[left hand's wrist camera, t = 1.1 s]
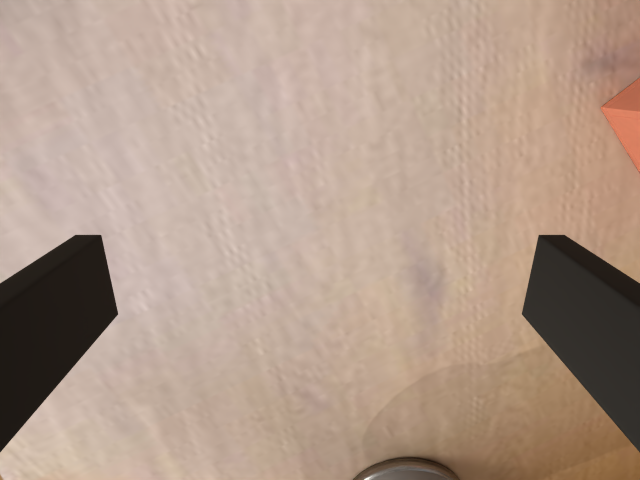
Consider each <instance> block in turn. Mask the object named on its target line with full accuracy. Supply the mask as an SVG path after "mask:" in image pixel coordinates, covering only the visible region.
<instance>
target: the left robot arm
mask: <svg viewBox="0 0 640 480" xmlns="http://www.w3.org/2000/svg"><path fill="white" fill-rule="evenodd" d="M117 315H118V311H117V307H116V302H115V297H114V293H113V288H112V283H111V279H110V274H109V269H108V265H107V260H106V255H105V251H104V246H103V241H102V237H101V235H75V236H73V237H72V238H70V239H69V240H67V241H66V242H64V243H62V244H61V245H59V246H58V247H56V248H55V249H53V250H52V251H50V252H48V253H47V254H45V255H44V256H42V257H41V258H39V259H38V260H36V261H34V262H33V263H31V264H30V265H28V266H27V267H25V268H24V269H22V270H20V271H19V272H17V273H16V274H14V275H13V276H11V277H10V278H8V279H7V280H5V281H3V282H2V283H0V452H1V451H2V450H3V448H4V447H5V446H6V445H7V444H8V443H9V441H10V440H11V439H12V438H13V437H14V436H15V434H16V433H17V432H18V431H19V430H20V428H21V427H22V426H23V425H24V424H25V423H26V421H27V420H28V419H29V418H30V417H31V416H32V414H33V413H34V412H35V411H36V410H37V409H38V407H39V406H40V405H41V404H42V403H43V402H44V400H45V399H46V398H47V397H48V396H49V395H50V393H51V392H52V391H53V390H54V389H55V388H56V386H57V385H58V384H59V383H60V382H61V380H62V379H63V378H64V377H65V376H66V375H67V373H68V372H69V371H70V370H71V369H72V368H73V366H74V365H75V364H76V363H77V362H78V361H79V359H80V358H81V357H82V356H83V355H84V354H85V352H86V351H87V350H88V349H89V348H90V347H91V345H92V344H93V343H94V342H95V341H96V339H97V338H98V337H99V336H100V335H101V334H102V332H103V331H104V330H105V329H106V328H107V327H108V325H109V324H110V323H111V322H112V321H113V320H114V318H115V317H116V316H117ZM522 315H523V316H524V317H525V318H526V320H527V321H528V322H529V323H530V324H531V325H532V327H533V328H534V329H535V330H536V331H537V332H538V334H539V335H540V336H541V337H542V338H543V339H544V341H545V342H546V343H547V344H548V345H549V347H550V348H551V349H552V350H553V351H554V352H555V354H556V355H557V356H558V357H559V358H560V359H561V361H562V362H563V363H564V364H565V365H566V366H567V368H568V369H569V370H570V371H571V372H572V373H573V375H574V376H575V377H576V378H577V379H578V380H579V382H580V383H581V384H582V385H583V386H584V388H585V389H586V390H587V391H588V392H589V393H590V395H591V396H592V397H593V398H594V399H595V400H596V402H597V403H598V404H599V405H600V406H601V407H602V409H603V410H604V411H605V412H606V413H607V414H608V416H609V417H610V418H611V419H612V420H613V421H614V423H615V424H616V425H617V426H618V427H619V428H620V430H621V431H622V432H623V433H624V434H625V436H626V437H627V438H628V439H629V440H630V441H631V443H632V444H633V445H634V446H635V447H636V448H637V450H638V451H639V452H640V283H638V282H637V281H635V280H633V279H632V278H630V277H629V276H627V275H626V274H624V273H623V272H621V271H620V270H618V269H616V268H615V267H613V266H612V265H610V264H609V263H607V262H606V261H604V260H602V259H601V258H599V257H598V256H596V255H595V254H593V253H592V252H590V251H588V250H587V249H585V248H584V247H582V246H581V245H579V244H578V243H576V242H574V241H573V240H571V239H570V238H568V237H567V236H565V235H539V237H538V241H537V246H536V251H535V255H534V260H533V265H532V269H531V274H530V279H529V283H528V288H527V293H526V297H525V302H524V307H523V311H522ZM353 480H459V478H458V477H457V476H456V475H455V474H454V473H453V472H452V471H450V470H449V469H447V468H446V467H444V466H442V465H440V464H437V463H435V462H432V461H428V460H423V459H415V458H402V459H394V460H389V461H385V462H382V463H379V464H376V465H374V466H371V467H369V468H367V469H366V470H364V471H363V472H361V473H360V474H359V475H357V476H356V477H355V478H354V479H353Z"/></svg>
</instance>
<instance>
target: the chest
mask: <svg viewBox="0 0 640 480" xmlns="http://www.w3.org/2000/svg"><path fill="white" fill-rule="evenodd" d="M601 109H602V111H603V113H604V114H605V116H606V118H607V119H608V121H609V123H610V124H611V126H612V128H613V129H614V131H615V133H616V134H617V136H618V138H619V139H620V141H621V143H622V144H623V146H624V148H625V149H626V151H627V152H628V154H629V156H630V157H631V159H632V161H633V162H634V164H635V166H636V167H637V169H638V171H639V172H640V78H639V79H637V80H636V81H635V82H633V83H632V84H631V85H630V86H628V87H627V88H626V89H624V90H623V91H622V92H620V93H619V94H618V95H616V96H615V97H614V98H612V99H611V100H610V101H609V102H607V103H606V104H605V105H603V106H602V107H601Z"/></svg>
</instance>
